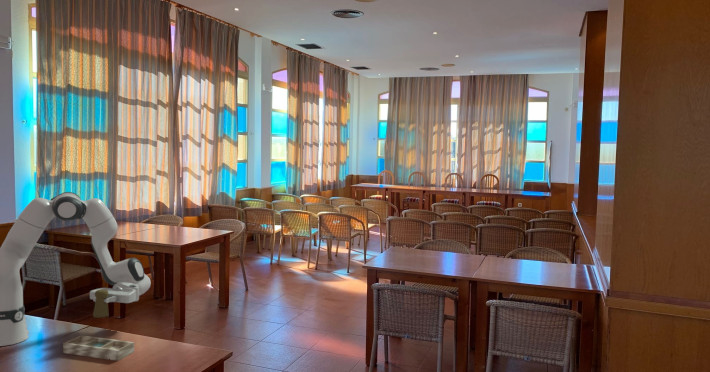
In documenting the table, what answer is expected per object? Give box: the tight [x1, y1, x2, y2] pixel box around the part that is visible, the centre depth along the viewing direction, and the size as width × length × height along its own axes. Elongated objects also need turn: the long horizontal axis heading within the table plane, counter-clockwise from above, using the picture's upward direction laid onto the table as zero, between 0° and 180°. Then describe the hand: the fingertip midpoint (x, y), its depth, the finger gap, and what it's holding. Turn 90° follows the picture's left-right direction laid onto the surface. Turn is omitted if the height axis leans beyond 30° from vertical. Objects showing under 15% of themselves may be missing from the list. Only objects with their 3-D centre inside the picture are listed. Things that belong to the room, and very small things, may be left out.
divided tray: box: [62, 335, 135, 361], centre depth 205 cm, size 26×9×4 cm, turn 75°
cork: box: [92, 289, 110, 318], centre depth 216 cm, size 6×6×11 cm
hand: (99, 300), depth 215 cm, fingers closed on cork, 4 cm apart
